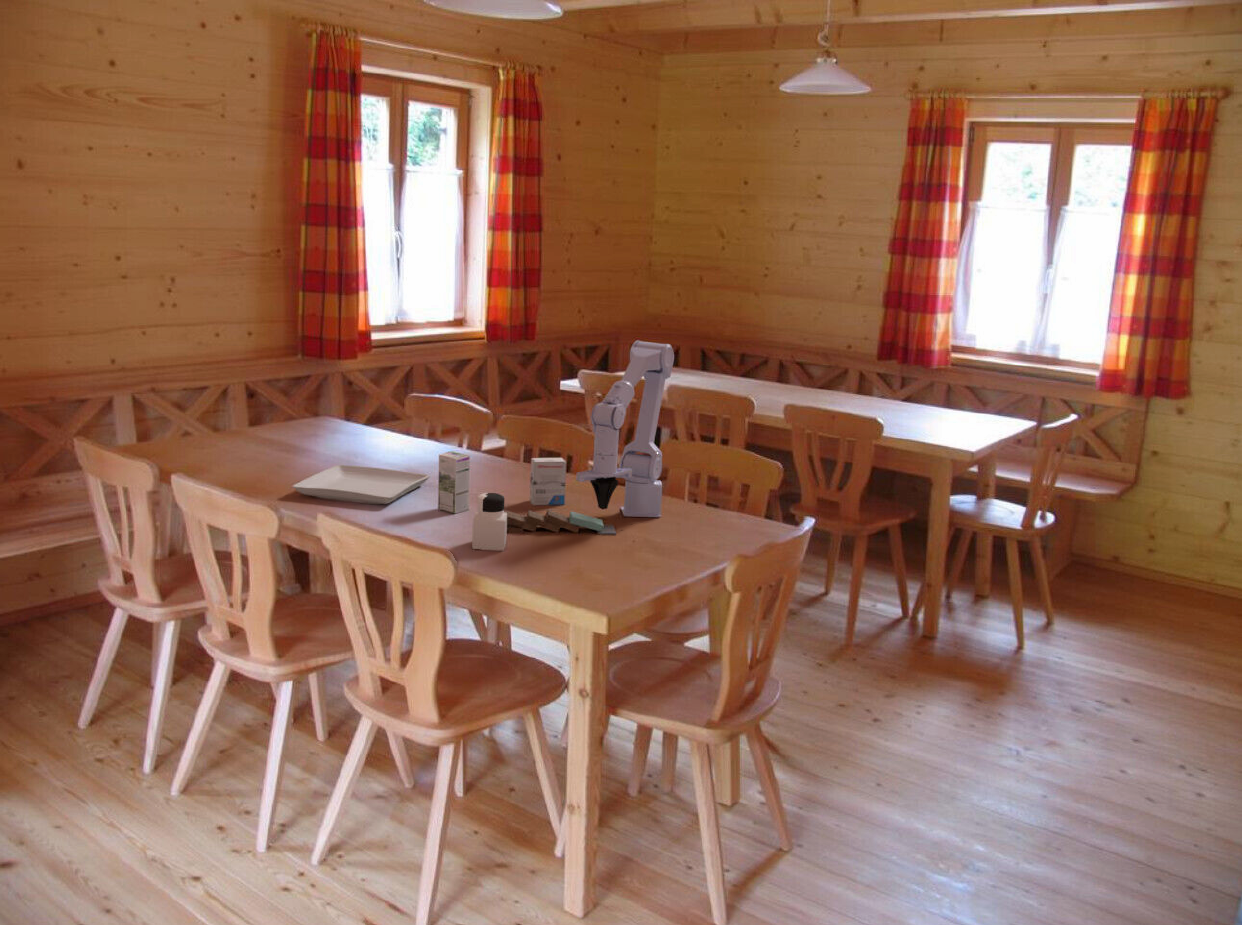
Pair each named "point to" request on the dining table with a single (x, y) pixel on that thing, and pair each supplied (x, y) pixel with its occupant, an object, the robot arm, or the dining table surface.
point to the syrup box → (453, 482)
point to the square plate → (360, 484)
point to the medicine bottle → (490, 523)
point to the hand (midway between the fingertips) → (602, 508)
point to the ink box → (547, 481)
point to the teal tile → (586, 521)
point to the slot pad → (607, 530)
